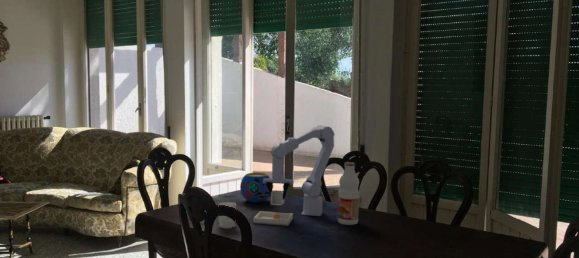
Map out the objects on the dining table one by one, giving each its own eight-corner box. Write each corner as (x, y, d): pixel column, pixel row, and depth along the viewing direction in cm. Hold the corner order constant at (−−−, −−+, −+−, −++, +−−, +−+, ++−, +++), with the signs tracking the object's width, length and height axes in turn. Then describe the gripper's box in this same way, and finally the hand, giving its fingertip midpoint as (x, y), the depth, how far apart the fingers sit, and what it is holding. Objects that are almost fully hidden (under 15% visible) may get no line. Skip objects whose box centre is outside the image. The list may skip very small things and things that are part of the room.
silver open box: (284, 203, 226) (284, 190, 226) (282, 205, 220) (282, 193, 220) (273, 202, 227) (273, 190, 226) (270, 204, 221) (271, 192, 221)
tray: (292, 218, 220) (292, 213, 220) (288, 225, 209) (288, 220, 208) (259, 216, 223) (259, 211, 223) (253, 223, 211) (253, 217, 211)
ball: (276, 218, 212) (278, 222, 214) (280, 213, 214) (281, 217, 216) (271, 216, 214) (273, 221, 215) (274, 211, 216) (276, 216, 217)
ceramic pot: (248, 207, 241) (248, 178, 240) (235, 199, 256) (235, 172, 255) (278, 203, 249) (278, 176, 248) (263, 196, 265) (264, 170, 264)
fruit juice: (360, 225, 213) (363, 164, 210) (341, 225, 211) (343, 164, 209) (354, 219, 222) (356, 161, 220) (335, 219, 220) (337, 161, 218)
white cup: (237, 224, 209) (238, 202, 209) (234, 229, 202) (234, 206, 201) (220, 223, 210) (221, 201, 209) (216, 228, 202) (216, 205, 202)
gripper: (261, 171, 220) (261, 199, 221) (291, 172, 217) (291, 201, 218) (264, 168, 226) (264, 196, 228) (294, 169, 224) (293, 197, 225)
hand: (277, 198), depth 223 cm, fingers closed on silver open box, 6 cm apart
